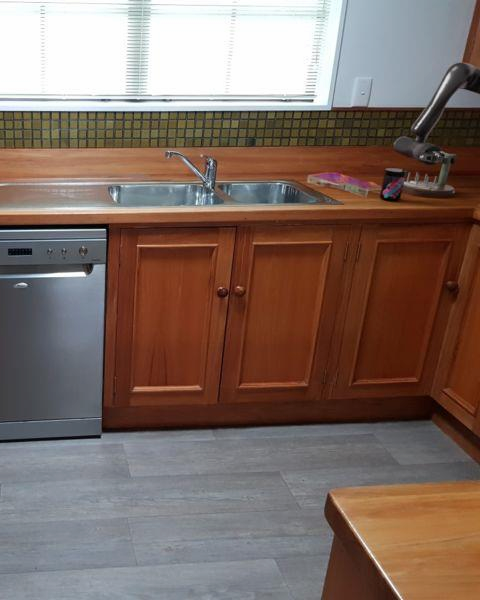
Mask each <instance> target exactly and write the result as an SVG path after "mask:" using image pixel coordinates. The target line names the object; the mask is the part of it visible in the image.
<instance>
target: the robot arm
mask: <svg viewBox="0 0 480 600" xmlns="http://www.w3.org/2000/svg"><path fill="white" fill-rule="evenodd" d="M458 90H464V91H468V92H471V93H475V94H478V95H480V68H478V67H476V66H475V65H473V64H471V63H468V62H461V61H460V62H455V63H453V64H451V65H450V67H448V68H447V70H446V71H445V73H444V75H443V77H442V79H441V81H440V83H439V85H438V86H437V89H436V90H435V92H434V93H433V96H432V97H431V98H430V100H429V102H428V103H427V104H426V106H425V108H424V109H423V111H422V112H421V113H420V115H419V116H418V117H417V118H416V120H415V121H414V123H413V124H412V126H411V128H410V131H411V132H412V133H413V134H414V135H416V138H415V139H413V138H411V137H408V136H405V135H404V136H400V137H398V138H397V139H396V140H395V141H394V143H393V150H394V152H395V153H397V154H400V155H402V156H404V157H407V158H409V159H413V160H414V161H415V160H416V161H417V162H420V163H422V164H425V165H427V166H433V165H436V164H446V161H447V158H445V157H444V156H445V154H449V153H447V152H444V151H443V150H442V148H441V147H440V146H438V145H436V144H433V143H429V142H426V141H427V138H428V136H429V134H430V133H431V131H432V130H433V129H434V127H435V126H436V125H437V123H438V122H439V120H440V119H441V117H442V115H443V112H444V110H445V108H446V106H447V104H448V102H450V99H451V98H452V97H453V96H454V94H456V92H457V91H458ZM450 155H453V157H452V160H451V164H450V165H455V164H456V163H457V154H456V153H450Z"/></svg>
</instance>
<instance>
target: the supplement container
mask: <svg viewBox="0 0 480 600" xmlns="http://www.w3.org/2000/svg"><path fill="white" fill-rule="evenodd" d="M407 171H408V170H406V169H402V168H395V167H394V168H393V167H391V168H390V167H389V168H387V167H386V168H385V170H384V175H383V179H382V184H381V186H382V188H380V193H379V198H380V200H382V201H384V202H385V201H386V202H399V201H401V198H402V194H403V192H402V189H403V185H404V181H405V180H406V176H407ZM405 182H406V181H405Z"/></svg>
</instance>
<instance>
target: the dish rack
mask: <svg viewBox="0 0 480 600" xmlns="http://www.w3.org/2000/svg"><path fill="white" fill-rule="evenodd" d="M444 157H445V158H447V161H446V164H442V163H441V164H442V165H441V169H440V172H439V175H438V176H437V175H435V176H434V181H429V180H430V176H428V175H429V174H428V173H426V174H425V176H424V180H420V176H421V174H419V171H416V172H415V178H414V180H410V178H411V172H408V175H407V179H406V181H404V185H403V187H404V188H406V189H409V190H413V191H419V192H426V193H452V192H453V191H455V188H454V187H453V186H451V185H449V184H447V180H448V176H449V173H450V168H451V165H452V164H451V160H452V157H453V155H451V153H448V154H445V156H444ZM437 179H438V180H437Z"/></svg>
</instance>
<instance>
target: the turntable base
mask: <svg viewBox="0 0 480 600" xmlns="http://www.w3.org/2000/svg"><path fill="white" fill-rule="evenodd" d="M403 192H404V193H403ZM402 193H403V194H406V193H408V194H407V195H410V194H412V195H411V196H414V195H416V196H415V197H420V196H421V197H422V198H429V199H450V198H453V197H455V193H456V191H455V190H454V191H453V192H452V193H426V192H419V191H413V190H409V189H406V188H404V187H403V189H402Z"/></svg>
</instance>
